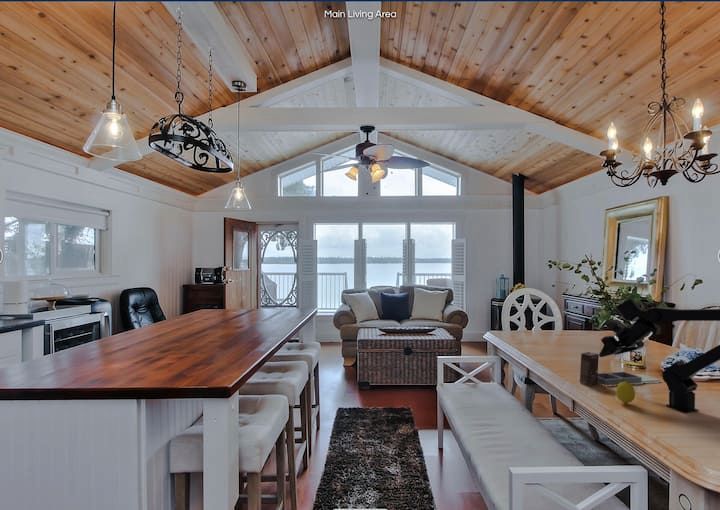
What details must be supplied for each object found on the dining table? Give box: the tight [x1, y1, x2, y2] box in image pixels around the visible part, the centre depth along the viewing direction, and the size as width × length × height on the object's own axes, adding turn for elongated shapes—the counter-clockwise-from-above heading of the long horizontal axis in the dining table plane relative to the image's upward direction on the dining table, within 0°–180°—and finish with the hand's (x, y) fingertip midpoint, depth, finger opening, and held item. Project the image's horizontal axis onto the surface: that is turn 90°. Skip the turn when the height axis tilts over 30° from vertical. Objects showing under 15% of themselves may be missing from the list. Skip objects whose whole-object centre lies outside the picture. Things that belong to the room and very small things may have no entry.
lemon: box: [615, 381, 636, 405], centre depth 148 cm, size 6×6×8 cm
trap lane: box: [597, 371, 663, 387], centre depth 176 cm, size 10×27×2 cm, turn 103°
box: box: [579, 351, 600, 386], centre depth 172 cm, size 6×4×12 cm
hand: (607, 354), depth 166 cm, fingers open, 9 cm apart
